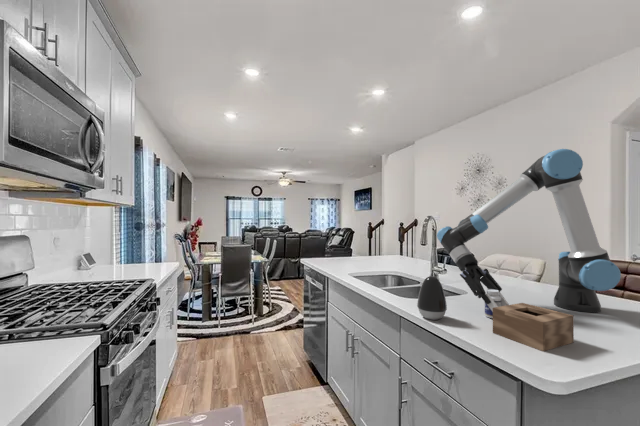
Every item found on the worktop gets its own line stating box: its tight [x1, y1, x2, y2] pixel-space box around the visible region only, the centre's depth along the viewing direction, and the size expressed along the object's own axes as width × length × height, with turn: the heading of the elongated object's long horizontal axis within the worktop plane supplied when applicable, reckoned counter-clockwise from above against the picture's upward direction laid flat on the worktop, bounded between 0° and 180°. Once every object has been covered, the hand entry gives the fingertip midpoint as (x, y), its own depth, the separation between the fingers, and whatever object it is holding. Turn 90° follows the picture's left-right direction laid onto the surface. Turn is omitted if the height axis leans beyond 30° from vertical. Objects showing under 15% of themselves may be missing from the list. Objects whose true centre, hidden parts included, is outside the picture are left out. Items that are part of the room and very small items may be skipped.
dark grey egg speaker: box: [416, 275, 448, 321], centre depth 114 cm, size 10×10×15 cm
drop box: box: [492, 302, 575, 352], centre depth 96 cm, size 15×15×8 cm
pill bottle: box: [484, 288, 501, 319], centre depth 115 cm, size 5×5×10 cm
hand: (502, 310), depth 112 cm, fingers closed on pill bottle, 5 cm apart
